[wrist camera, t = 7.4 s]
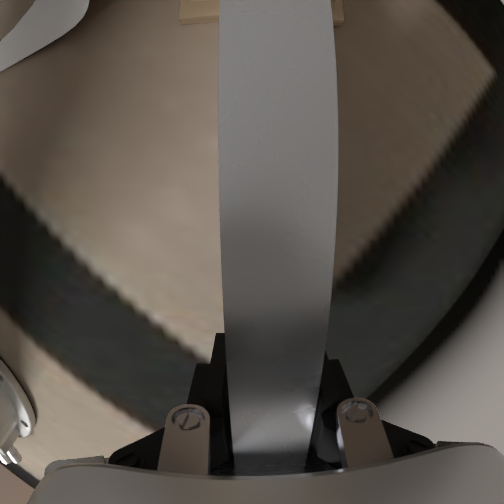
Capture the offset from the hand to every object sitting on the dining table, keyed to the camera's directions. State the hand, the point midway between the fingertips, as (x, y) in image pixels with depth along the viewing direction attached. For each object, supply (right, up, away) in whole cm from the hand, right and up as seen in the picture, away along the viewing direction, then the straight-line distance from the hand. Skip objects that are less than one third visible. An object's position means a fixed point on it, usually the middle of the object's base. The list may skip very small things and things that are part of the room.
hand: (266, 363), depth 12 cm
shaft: (0, +8, -2) cm, 8 cm away
